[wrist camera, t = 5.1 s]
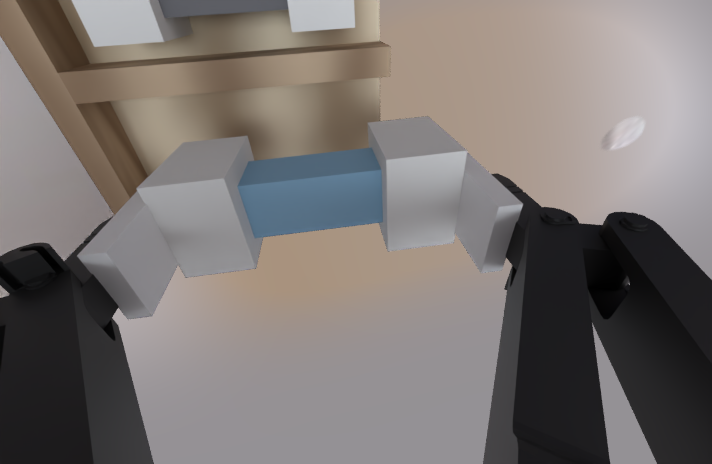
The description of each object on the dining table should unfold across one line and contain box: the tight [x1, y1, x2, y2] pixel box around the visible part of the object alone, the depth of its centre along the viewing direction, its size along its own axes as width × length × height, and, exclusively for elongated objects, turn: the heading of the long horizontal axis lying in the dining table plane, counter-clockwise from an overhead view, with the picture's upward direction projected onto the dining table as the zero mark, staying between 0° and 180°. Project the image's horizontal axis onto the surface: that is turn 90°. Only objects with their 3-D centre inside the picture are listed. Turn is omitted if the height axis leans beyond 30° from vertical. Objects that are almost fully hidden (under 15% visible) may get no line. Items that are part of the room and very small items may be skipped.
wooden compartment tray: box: [0, 0, 391, 215], centre depth 17 cm, size 17×16×4 cm
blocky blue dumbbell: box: [136, 116, 467, 278], centre depth 13 cm, size 11×4×4 cm, turn 94°
